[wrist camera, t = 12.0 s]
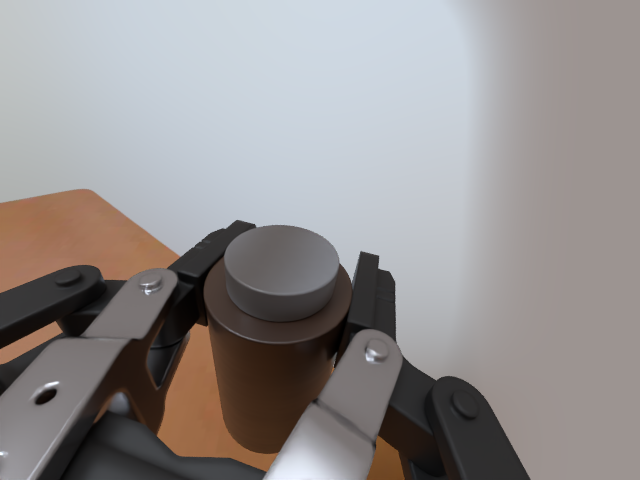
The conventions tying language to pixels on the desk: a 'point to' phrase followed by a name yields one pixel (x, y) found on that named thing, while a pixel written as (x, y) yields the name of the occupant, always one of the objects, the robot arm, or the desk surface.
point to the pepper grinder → (274, 329)
